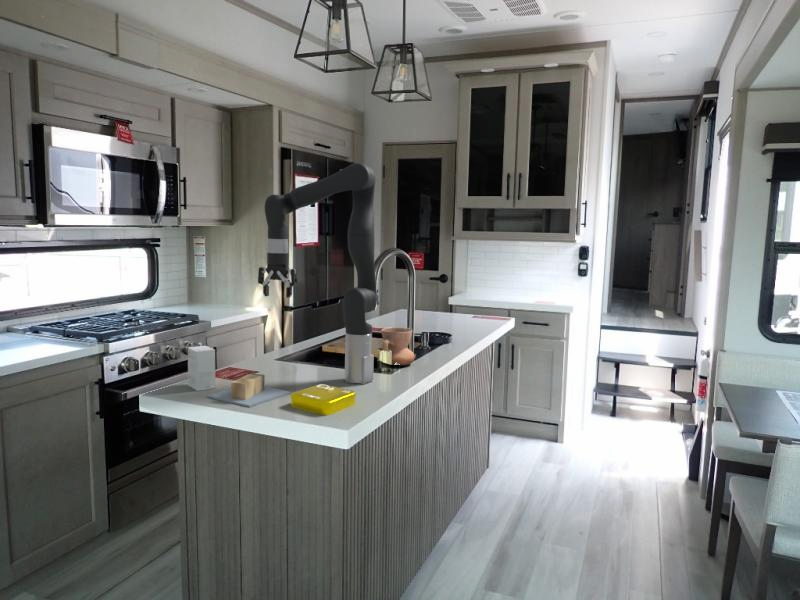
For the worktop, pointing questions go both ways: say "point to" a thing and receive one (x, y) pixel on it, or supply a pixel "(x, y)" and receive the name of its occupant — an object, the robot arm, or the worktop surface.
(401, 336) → the ceramic jug
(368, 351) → the robot arm
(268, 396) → the grey mat
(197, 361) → the small box
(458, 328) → the worktop surface
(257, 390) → the wood block
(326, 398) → the element tile
